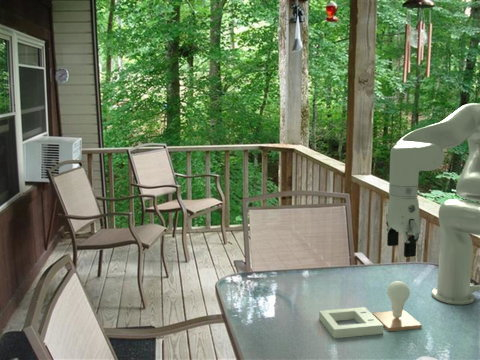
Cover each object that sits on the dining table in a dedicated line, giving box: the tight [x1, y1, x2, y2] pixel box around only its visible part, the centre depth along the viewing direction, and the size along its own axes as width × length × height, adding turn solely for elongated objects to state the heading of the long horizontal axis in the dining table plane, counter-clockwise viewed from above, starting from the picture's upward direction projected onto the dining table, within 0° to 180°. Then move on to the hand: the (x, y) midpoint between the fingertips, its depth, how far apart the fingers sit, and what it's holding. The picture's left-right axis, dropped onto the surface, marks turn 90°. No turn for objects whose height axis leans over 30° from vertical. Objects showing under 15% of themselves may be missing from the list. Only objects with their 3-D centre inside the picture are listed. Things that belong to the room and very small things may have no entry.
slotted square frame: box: [318, 306, 384, 339], centre depth 146 cm, size 14×12×3 cm
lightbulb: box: [386, 280, 411, 318], centre depth 148 cm, size 6×6×11 cm
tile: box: [371, 309, 423, 332], centre depth 148 cm, size 10×10×1 cm
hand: (400, 250), depth 145 cm, fingers open, 9 cm apart
